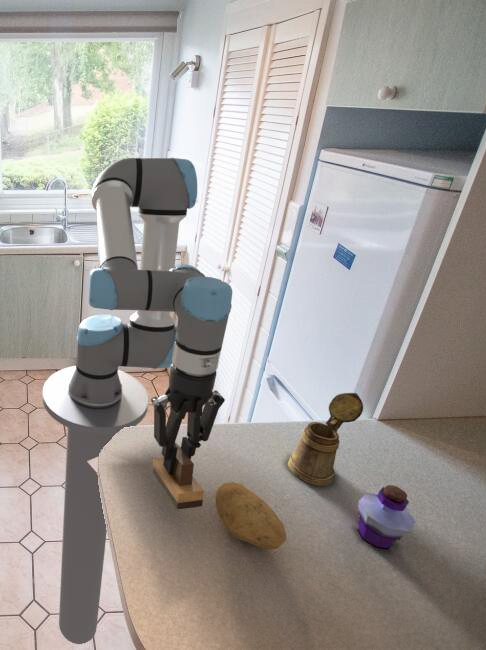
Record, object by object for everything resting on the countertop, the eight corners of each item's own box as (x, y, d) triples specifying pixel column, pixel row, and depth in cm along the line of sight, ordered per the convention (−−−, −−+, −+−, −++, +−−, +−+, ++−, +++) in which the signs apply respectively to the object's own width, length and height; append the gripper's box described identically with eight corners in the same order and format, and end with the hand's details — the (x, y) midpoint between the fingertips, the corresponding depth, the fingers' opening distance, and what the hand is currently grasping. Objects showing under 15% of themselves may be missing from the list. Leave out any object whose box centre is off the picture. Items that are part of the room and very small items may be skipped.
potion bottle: (400, 530, 88) (423, 485, 82) (404, 566, 81) (430, 519, 76) (347, 510, 92) (366, 466, 87) (348, 543, 85) (368, 496, 80)
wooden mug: (353, 468, 102) (379, 404, 94) (316, 491, 96) (342, 424, 88) (314, 444, 109) (336, 382, 101) (278, 464, 103) (299, 399, 96)
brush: (152, 472, 93) (154, 438, 91) (175, 469, 94) (177, 436, 92) (177, 510, 83) (180, 472, 80) (202, 506, 83) (206, 469, 81)
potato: (256, 574, 80) (267, 543, 76) (199, 513, 91) (205, 484, 88) (294, 552, 83) (305, 522, 80) (234, 497, 95) (242, 468, 91)
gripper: (160, 382, 73) (145, 488, 83) (247, 373, 76) (222, 478, 86) (143, 358, 80) (130, 459, 90) (223, 351, 82) (202, 450, 92)
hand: (175, 468), depth 88 cm, fingers closed on brush, 2 cm apart
